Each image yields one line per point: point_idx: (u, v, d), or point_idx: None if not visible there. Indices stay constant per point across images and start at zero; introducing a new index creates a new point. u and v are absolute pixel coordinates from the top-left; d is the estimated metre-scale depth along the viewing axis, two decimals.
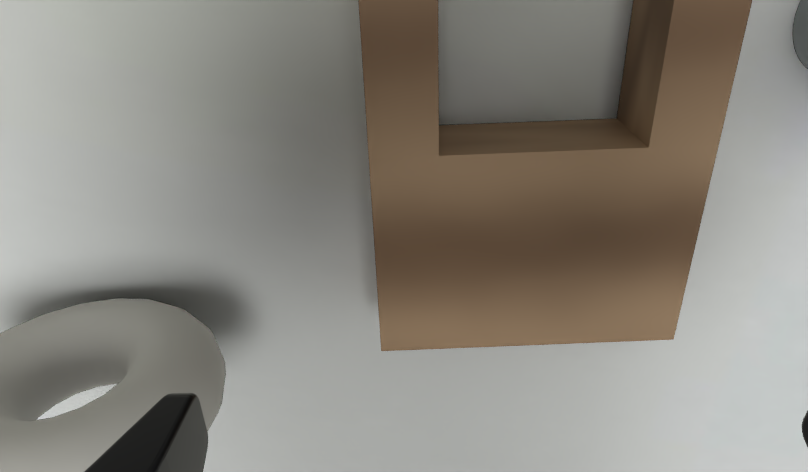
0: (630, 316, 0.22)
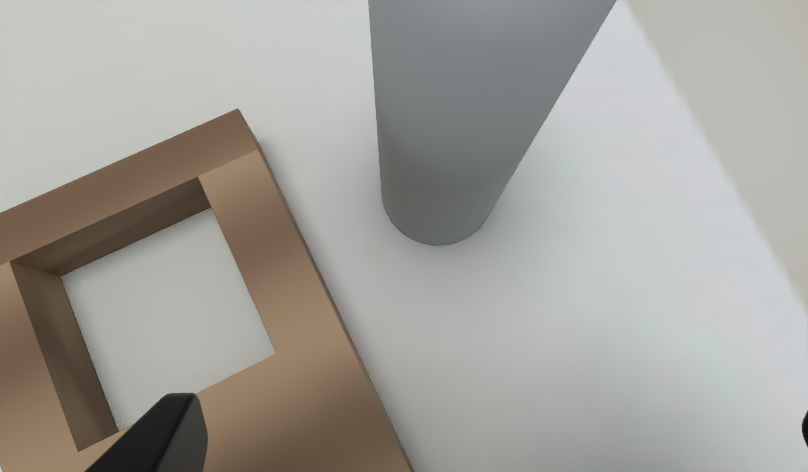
0: None
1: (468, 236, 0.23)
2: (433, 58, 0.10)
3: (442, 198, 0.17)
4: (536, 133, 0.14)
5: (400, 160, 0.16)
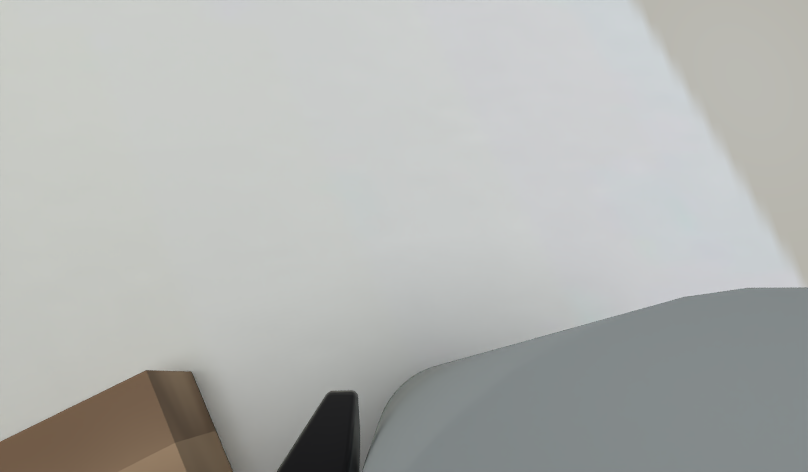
0: None
1: None
2: None
3: None
4: None
5: None
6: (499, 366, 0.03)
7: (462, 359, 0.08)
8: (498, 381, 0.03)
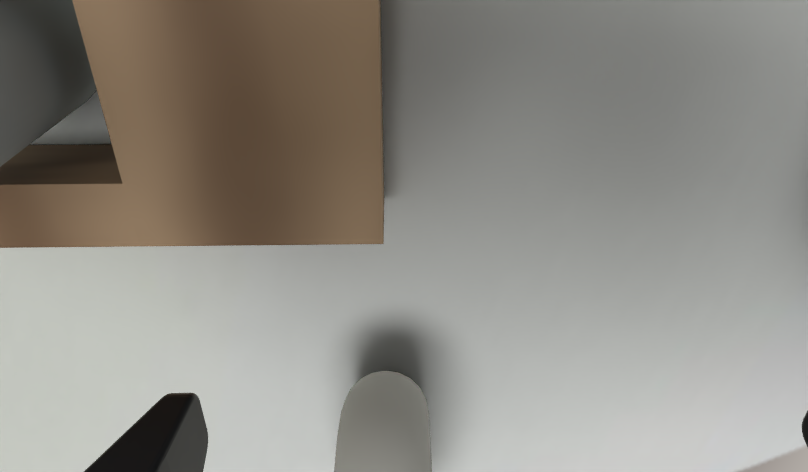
0: None
1: None
2: None
3: None
4: None
5: None
6: None
7: None
8: None
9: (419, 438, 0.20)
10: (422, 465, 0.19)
